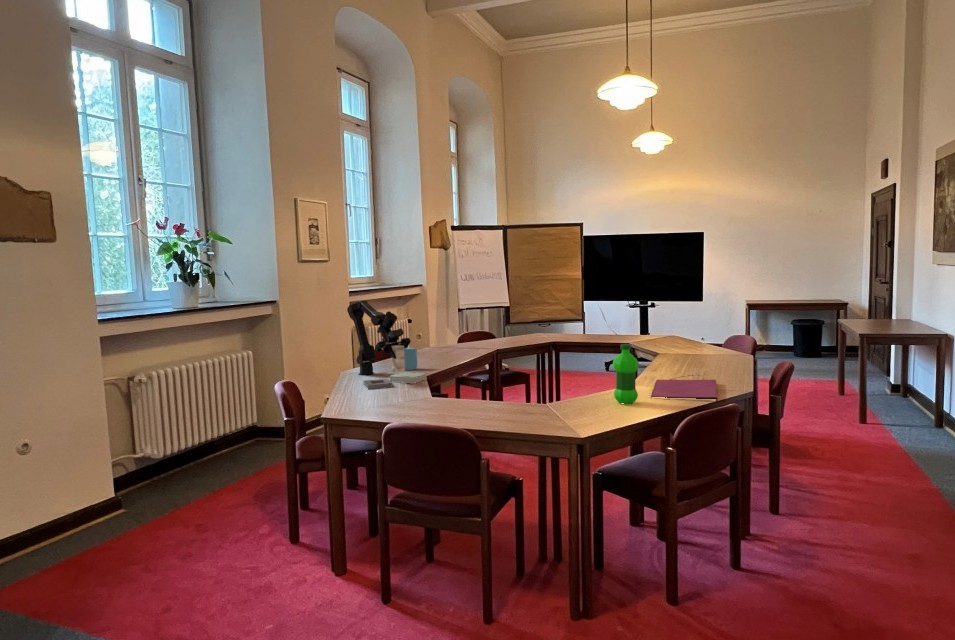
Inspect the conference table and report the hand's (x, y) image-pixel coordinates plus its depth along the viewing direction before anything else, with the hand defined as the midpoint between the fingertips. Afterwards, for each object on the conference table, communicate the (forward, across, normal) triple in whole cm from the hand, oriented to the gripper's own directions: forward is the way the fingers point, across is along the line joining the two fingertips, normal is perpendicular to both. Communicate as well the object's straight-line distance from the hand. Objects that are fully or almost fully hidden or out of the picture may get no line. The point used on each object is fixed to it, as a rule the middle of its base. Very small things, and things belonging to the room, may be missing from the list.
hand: (399, 357), depth 332 cm
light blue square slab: (-11, +23, +30) cm, 40 cm away
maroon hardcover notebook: (+87, +82, -69) cm, 138 cm away
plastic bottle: (+84, +43, -67) cm, 116 cm away
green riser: (+8, +6, +11) cm, 14 cm away
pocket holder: (+7, -12, +11) cm, 18 cm away
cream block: (+4, 0, +6) cm, 7 cm away
